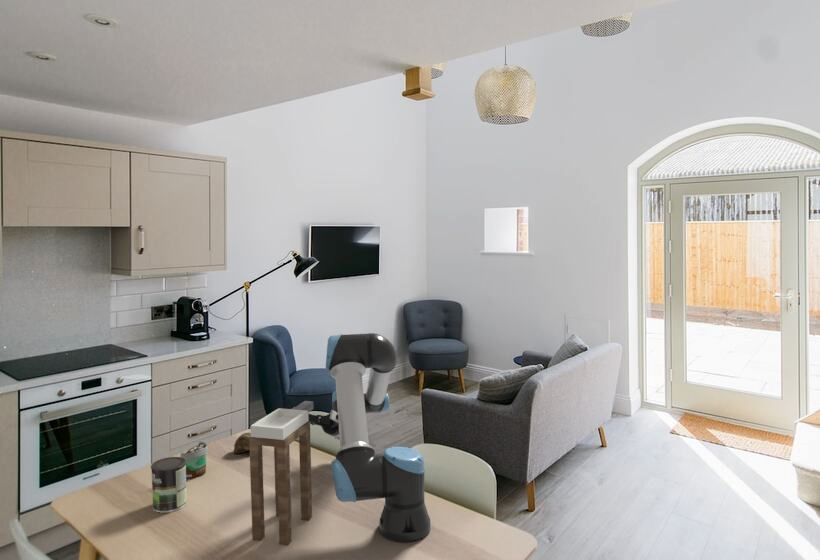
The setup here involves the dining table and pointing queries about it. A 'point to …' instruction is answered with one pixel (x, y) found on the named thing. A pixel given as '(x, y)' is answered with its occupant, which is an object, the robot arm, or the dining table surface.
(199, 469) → the food container
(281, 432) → the sliding tray
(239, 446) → the seashell
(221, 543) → the dining table surface
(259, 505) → the walnut stand
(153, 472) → the coffee can
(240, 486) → the dining table surface
